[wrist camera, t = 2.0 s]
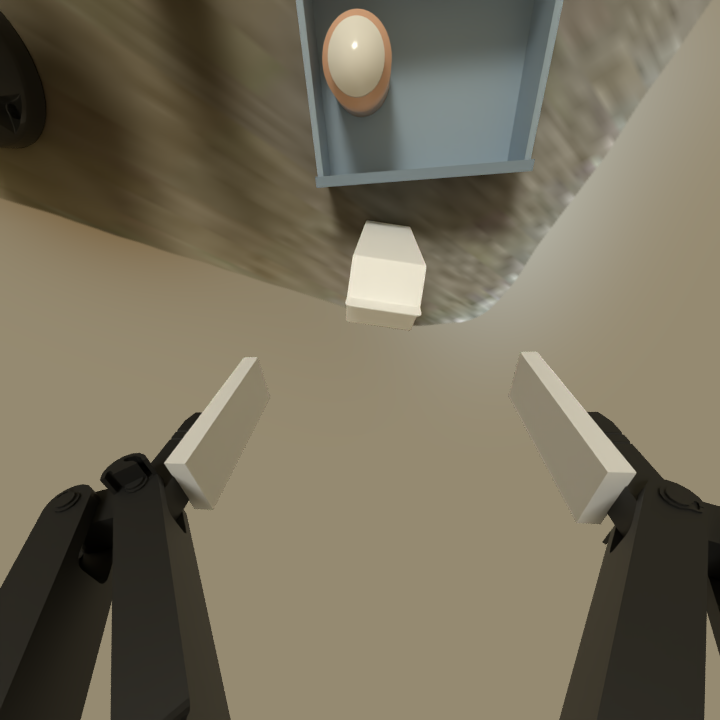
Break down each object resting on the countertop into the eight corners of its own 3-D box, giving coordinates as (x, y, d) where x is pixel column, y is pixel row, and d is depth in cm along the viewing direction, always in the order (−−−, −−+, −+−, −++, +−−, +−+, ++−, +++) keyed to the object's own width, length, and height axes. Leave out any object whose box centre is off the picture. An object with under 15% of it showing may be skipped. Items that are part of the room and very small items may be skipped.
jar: (337, 119, 33) (325, 108, 26) (330, 44, 30) (315, 9, 23) (390, 114, 32) (392, 101, 26) (389, 36, 29) (391, -2, 23)
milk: (366, 219, 39) (347, 263, 20) (411, 226, 39) (433, 275, 20) (360, 265, 42) (340, 338, 24) (401, 271, 42) (413, 349, 24)
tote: (326, 185, 37) (316, 187, 32) (303, -13, 28) (285, -54, 23) (510, 170, 35) (532, 170, 30) (550, -50, 26) (590, -104, 21)
